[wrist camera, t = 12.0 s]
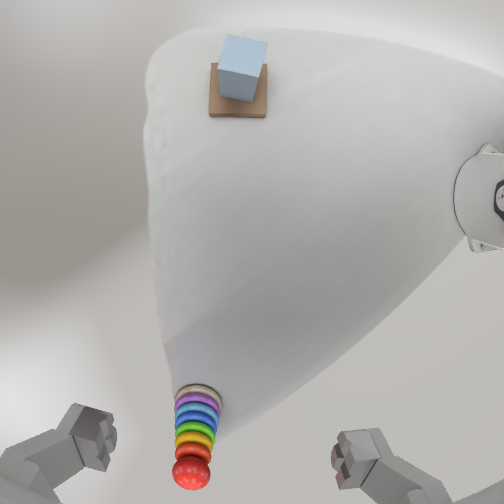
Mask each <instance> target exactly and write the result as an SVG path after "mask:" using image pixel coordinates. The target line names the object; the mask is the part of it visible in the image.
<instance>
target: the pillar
mask: <svg viewBox="0 0 504 504" xmlns="http://www.w3.org/2000/svg"><path fill="white" fill-rule="evenodd" d="M267 46H268V43H266V42H262V41H257V40H253V39H248V38H243V37H238V36H233V35H227V38H226V41H225V44H224V48H223V51H222V54H221V57H220V60H219V64H218V67H217V73H218V81H219V90H220V96H222V97H227V98H232V99H237V100H241V101H246V102H250V103H252V101H253V97H254V93H255V90H256V86H257V83H258V79H259V75H260V72H261V68H262V64H263V61H264V57H265V53H266V50H267Z"/></svg>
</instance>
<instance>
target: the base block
mask: <svg viewBox="0 0 504 504" xmlns="http://www.w3.org/2000/svg"><path fill="white" fill-rule="evenodd" d="M218 64H219V63H211V80H210V101H209V114H210V116H211V117H249V118H265V115H266V87H267V64H262V68H261V72H260V75H259V79H258V83H257V86H256V90H255V93H254V97H253V101H252V103H250V102H246V101H241V100H237V99H232V98H227V97H222V96H220V90H219V81H218V73H217V67H218Z"/></svg>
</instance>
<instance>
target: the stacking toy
mask: <svg viewBox="0 0 504 504" xmlns="http://www.w3.org/2000/svg"><path fill="white" fill-rule="evenodd" d="M174 410H175V421H176V422H175V430H176V433H175V437H176V440H175V447H176V451H175V457H176V459H177V462H176V463H175V464H174V466H173V470H172V474H173V478H174V480H175V482H176V483H177V484H178V485H179V486H181V487H182V488H184V489H188V490H198V489H201V488H203V487H204V486H206V484H207V483H208V482H209V480H210V469H209V467H208V464H209V463H210V460H211V454H210V453H211V451H212V448H213V444H214V442H215V435H216V431H217V427H218V424H219V417H220V412H221V410H222V401H221V399H220V397H219V395H218V394H217V393H216V392H215V391H213V390H212V389H210V388H208V387H205V386H200V385H192V386H187V387H185V388H183V389H181V390H180V391H179V392H178V393H177V395H176V398H175V407H174Z"/></svg>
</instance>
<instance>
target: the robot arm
mask: <svg viewBox="0 0 504 504" xmlns="http://www.w3.org/2000/svg"><path fill="white" fill-rule="evenodd" d="M454 205H455V212H456V216H457V219H458V221H459V224H460V226H461V227H462V229H463V230H464V232H465V233H466V235H467V237H468V242H469V246H470V249H471V250H472V251H473V252H483V251H490V250H497V249H500V250H504V154H502V153H500V152H499V151H498V150H497V149H495V148H494V147H493V146H491V145H490V144H484V145H483V146H482V148H481V149H480V151H479V153H478V154H477V155H475V156H474V157H472V158H470V159H469V160H468V161H467V162H466V163H465V164H464V165H463V166H462V168H461V170H460V172H459V174H458V177H457V180H456V184H455V191H454ZM480 244H481V245H480ZM113 421H114V418H113V415H112V414H111V413H109V412H105V411H101V410H98V409H94V408H91V407H87V406H83V405H80V404H77V403H74V404H72V405H71V407H70V408H69V410H68V411H67V413H66V414H65V416H64V417H63V419H62V421H61V422H60V424H59V426H58V427H57V429H56V430H55V429H51V430H49V431H46V432H44V433H42V434H40V435H37V436H35V437H33V438H30V439H28V440H26V441H23V442H21V443H18V444H16V445H14V446H11V447H9V448H6V450H5V451H4V453H3V454H2V455H1V457H0V504H62V503H60V500H59V498H58V497H57V495H56V494H55V492H54V491H53V489H54V488H56V487H57V486H59V485H60V484H62V483H63V482H64V481H66V480H67V479H69V478H70V477H72V476H73V475H75V474H76V473H78V472H79V471H80V470H82V469H83V468H84V466H85V467H88V468H92V469H95V470H99V471H103V472H106V470H107V467H108V464H109V462H110V456H109V454H110V453H111V452H113V451H114V449H115V447H116V442H117V432H116V428H115V427H114V426H113V425H112V424H113ZM337 440H338V443H337V444H336V445H335V446H334V447H333V450H332V453H331V463H332V467H333V469H335V470H336V471H337V472H338V473H337V475H336V480H337V484H338V487H339V490H342V489H350V488H359V487H361V490H363V491H364V492H365V493H366V494H367V495H368V496H369V497H370V498H372V499H373V500H374V501H375V502H376V503H377V504H504V479H503V480H501V481H499V482H497V483H495V484H493V485H492V486H489V487H488V488H485V489H483V490H481V491H479V492H477V493H475V494H472V495H470V496H468V497H466V498H463V499H461V500H459V501H456V502H454V503H453V502H452V500H451V498H450V497H449V495H448V493H447V491H446V489H445V488H444V486H443V484H442V482H441V481H439V480H438V479H436V478H434V477H432V476H431V475H429V474H427V473H425V472H424V471H422V470H420V469H418V468H417V467H415V466H413V465H412V464H410V463H408V462H407V461H405V460H403V459H402V458H400V457H398V456H394V455H393V453H392V451H391V449H390V447H389V445H388V443H387V442H386V439H385V438H384V436H383V434H382V432H381V430H380V429H379V428H373V429H362V430H352V431H341V432H340V433H339V435H338V437H337Z"/></svg>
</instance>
